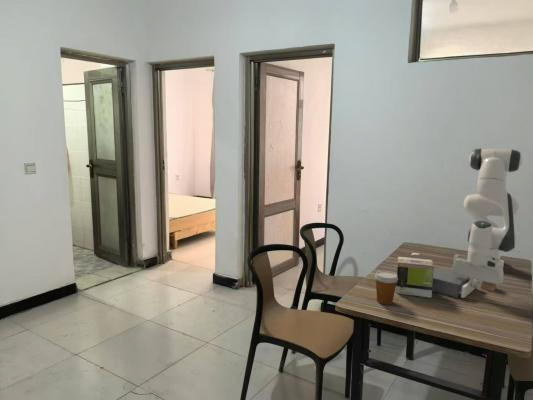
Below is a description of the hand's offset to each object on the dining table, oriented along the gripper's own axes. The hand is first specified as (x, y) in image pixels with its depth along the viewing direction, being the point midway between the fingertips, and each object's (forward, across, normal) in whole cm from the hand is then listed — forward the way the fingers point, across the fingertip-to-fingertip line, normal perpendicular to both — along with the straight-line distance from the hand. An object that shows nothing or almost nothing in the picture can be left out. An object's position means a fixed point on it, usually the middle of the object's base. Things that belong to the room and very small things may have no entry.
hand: (475, 288), depth 179 cm
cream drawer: (+3, -9, 0) cm, 10 cm away
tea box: (+3, -21, -17) cm, 27 cm away
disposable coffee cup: (+3, -25, -36) cm, 44 cm away
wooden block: (+3, +2, +13) cm, 13 cm away
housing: (+3, -12, 0) cm, 12 cm away
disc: (+1, -8, 0) cm, 8 cm away
